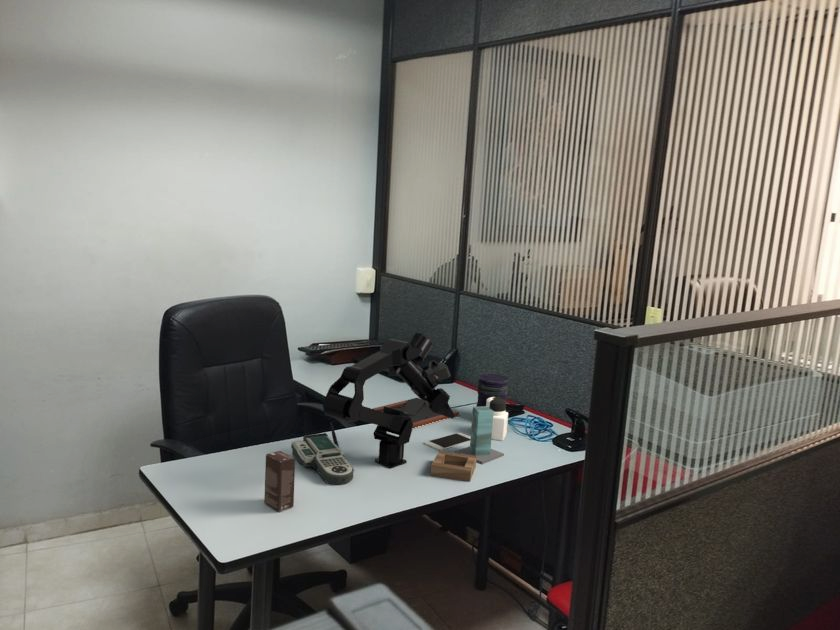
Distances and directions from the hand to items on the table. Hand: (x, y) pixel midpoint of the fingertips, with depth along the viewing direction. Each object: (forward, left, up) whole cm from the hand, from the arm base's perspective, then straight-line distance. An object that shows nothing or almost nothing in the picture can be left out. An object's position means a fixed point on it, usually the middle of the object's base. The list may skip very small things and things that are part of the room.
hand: (448, 412), depth 191 cm
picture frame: (+18, +31, -13) cm, 38 cm away
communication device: (-32, +14, -13) cm, 38 cm away
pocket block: (-7, -9, -13) cm, 17 cm away
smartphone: (+9, +6, -13) cm, 17 cm away
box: (-54, +4, -13) cm, 56 cm away
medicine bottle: (+24, +1, -13) cm, 27 cm away
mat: (+8, -6, -13) cm, 16 cm away
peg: (+8, -6, -12) cm, 16 cm away
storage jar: (+34, +10, -13) cm, 37 cm away
